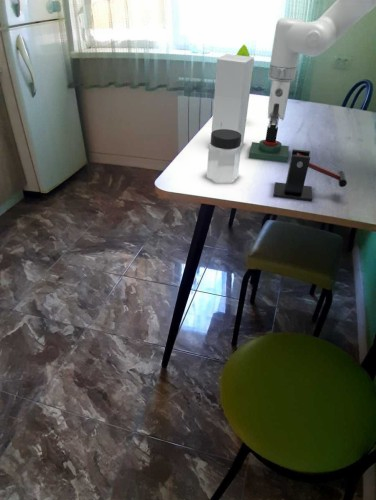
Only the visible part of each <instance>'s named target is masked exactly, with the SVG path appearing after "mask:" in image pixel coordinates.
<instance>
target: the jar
mask: <svg viewBox="0 0 376 500" xmlns="http://www.w3.org/2000/svg"><path fill="white" fill-rule="evenodd" d="M211 132H212V131H211ZM242 146H243V145H241V134H240V133H239V132H237V131H234V130H228V129H219V130H215V131H213V132H212V133H210V143H209V144H208V153H207V165H206V166H207V167H206V178H208V179H209V180H210V181H212V182H213V183H215V184H232V183H234V182H235V181H236V180H237V179H238V178H239V169H240V161H241V153H242Z"/></svg>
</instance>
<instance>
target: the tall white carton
mask: <svg viewBox="0 0 376 500" xmlns="http://www.w3.org/2000/svg"><path fill="white" fill-rule="evenodd" d="M254 61H255V57H254V56H250V57H248V56H240V55H237V54H231V53H225V54H224V55H222V56H221V55H220V57H218V58H216V70H215V80H214V81H215V83H214V94H213V106H212V119H211V133H212V132H213V131H215V130H219V129H228V130H234V131H237V132H239V133H240V134H241V145H242V146H243V145H244V141H245V133H246V125H247V117H248V110H249V101H250V93H251V85H252V79H253V77H252V72H253V69H254ZM211 133H210V134H211Z"/></svg>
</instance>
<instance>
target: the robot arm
mask: <svg viewBox="0 0 376 500" xmlns="http://www.w3.org/2000/svg"><path fill="white" fill-rule="evenodd" d="M375 7H376V0H335V2H333V4H331V6H329V7H328V9H327V10H326V11H325V12H324V13H323V14H322V15H320V17H319V18H317V19H316V20H313V21H304V20H303V19H301V18H297V17H289V16H287V17H286V16H285V17H281V18H279V19H278V20H277V21H276V24H275V30H274V35H273V36H274V37H273V42H272V43H273V44H272V50H271V56H270V61H269V62H270V63H269V68H268V69H269V70H268V76H267V78H268V80H271V84H270V91H269V98H268V105H267V106H268V107H267V119H268V122H269V123H268V126H267V128H266V133H265V139H264V140H265V141H266V142H276V141H277V136H278V130H279V127H278V126H279V122H280V121H279V120H281V121H284V120H285V115H286V110H287V105H288V100H289V96H290V95H289V94H290V89H291V83H292V82H294V81H295V80H296V74H297V69H298V63H299V60H300V59H299V58H300V55H302V56H303V55H304V56H306V57H311V58H313V57H319V56H321V55H322V54H323V53H325V52H326V51H327V50H329V48H331V47H332V46H333V45H334V44H335V43H337V41H338V40H339V39H340V38H341V37H342V36H343V35H345V34H346V33H347V32H348V31H349V30H350V29H351V28H352V27H353V26H354V25H355V24H357V22H358V21H360V20H361V19H362V18H363V17H364V16H365V15H367V14H368V13H370V12H371V11H372V10H373V9H374V8H375Z"/></svg>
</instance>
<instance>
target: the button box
mask: <svg viewBox="0 0 376 500" xmlns="http://www.w3.org/2000/svg"><path fill="white" fill-rule="evenodd" d="M264 141H265V139H262V140H259V142H255V141H251V145H250V149H249V152H248V159H250V160H259V161H260V160H261V161H268V162H278V163H284V164H285V163H286V164H287V163H288V160H289V151H290V146H289V145H285V144H284V145H283V144H282V142H280V141H279V140H276V141H277V145H276V146H269V145H265V144H264Z"/></svg>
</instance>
